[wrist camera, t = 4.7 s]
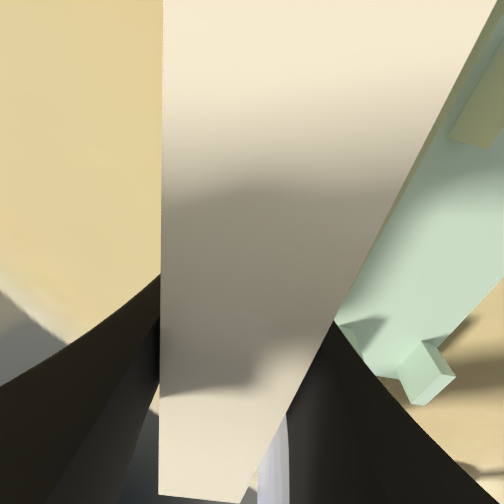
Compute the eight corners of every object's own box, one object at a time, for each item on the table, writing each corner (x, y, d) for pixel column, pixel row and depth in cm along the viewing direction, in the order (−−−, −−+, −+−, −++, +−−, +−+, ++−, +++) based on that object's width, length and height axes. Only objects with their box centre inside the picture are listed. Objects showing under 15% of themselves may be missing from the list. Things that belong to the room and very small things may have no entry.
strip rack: (401, 369, 22) (423, 414, 19) (307, 352, 21) (314, 397, 18) (672, 59, 10) (833, 48, 8) (491, 2, 10) (591, -34, 7)
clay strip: (245, 399, 15) (239, 503, 12) (184, 390, 15) (158, 494, 11) (391, -38, 6) (637, -274, 2) (233, -82, 6) (167, -446, 2)
